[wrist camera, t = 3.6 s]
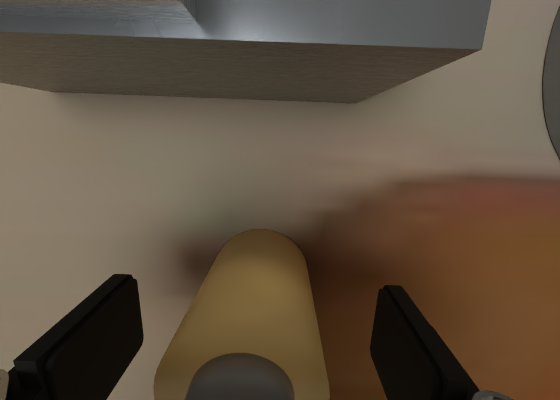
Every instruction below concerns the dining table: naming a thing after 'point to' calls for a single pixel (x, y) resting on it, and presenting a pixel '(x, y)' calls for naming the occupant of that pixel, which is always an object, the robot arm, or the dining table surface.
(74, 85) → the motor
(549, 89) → the tape roll
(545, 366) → the dining table surface
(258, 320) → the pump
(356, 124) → the dining table surface
